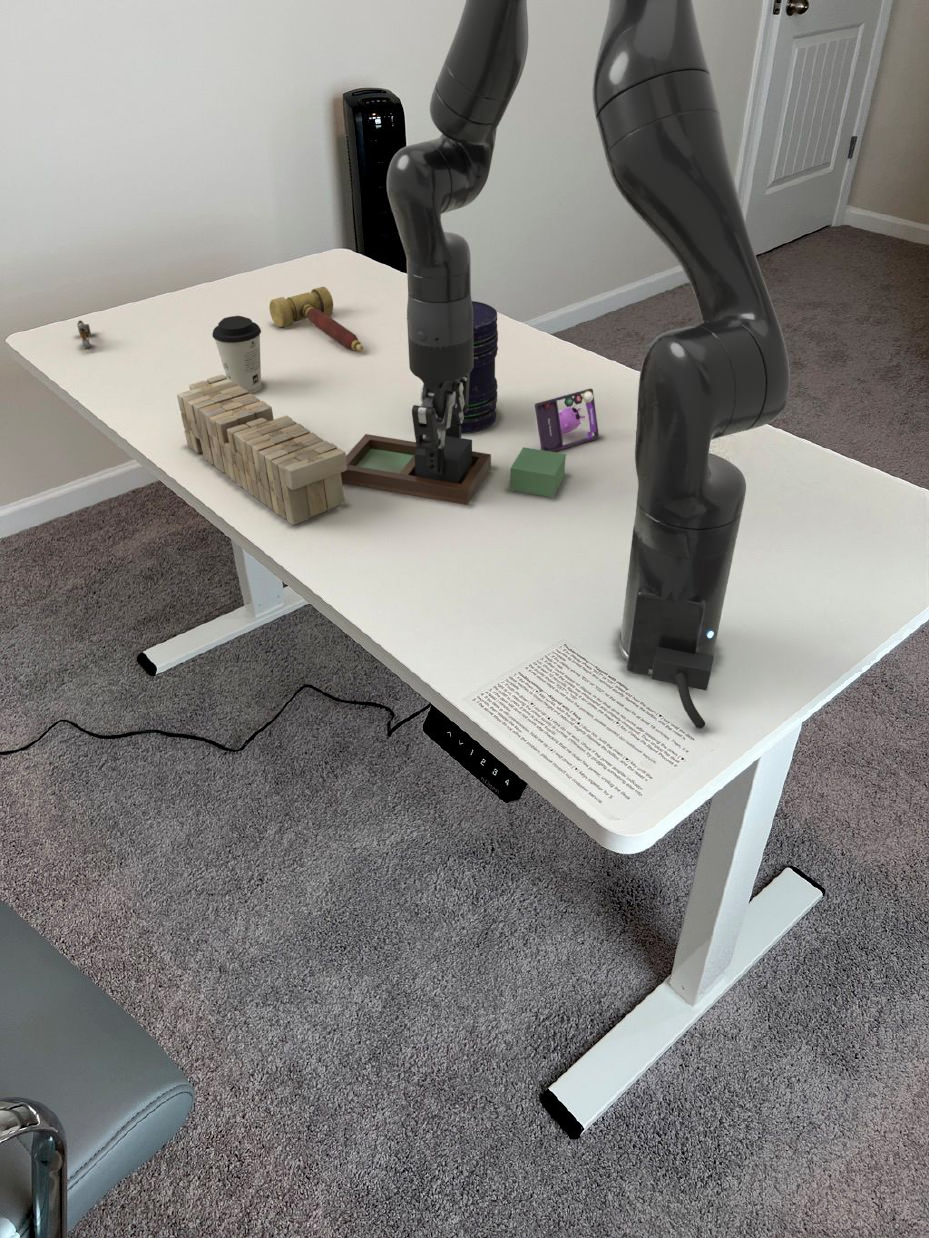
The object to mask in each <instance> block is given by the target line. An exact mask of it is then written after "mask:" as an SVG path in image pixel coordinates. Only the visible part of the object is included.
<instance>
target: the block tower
mask: <svg viewBox="0 0 929 1238" xmlns="http://www.w3.org/2000/svg"><path fill="white" fill-rule="evenodd" d="M188 387H189V390H186V391H184V392H183V391H182V392H179V393H177V394H176V397H177V402H178V407H179V411H180V417H181V420H182V421H181V422H182V425H183V429H184V435H185V440H186V443H187V447H189V448H190V449H191V450H193V451H194V452H195V453H197V454H201V453H202V455H203V458H204V460H206V461H207V462H209V463H210V464H211V465H213V466H214V467H215V468H216V469H217V470H218V471H221V473H223V474H225V476H227V477H228V478H229V479H230V480H231V481H232V482H234V483H236V485H238V486H239V488H240V487H241V488H243V489H244V490H245V491H247V492H248V493H249V494H250V495H251V496H253V497H254V498H255V499H257V500H258V501H260V502H261V503H262V504H263V505H265V506H267V507H268V508H269V509H270V510H271V511H273V512H274V513H276V514H277V515H278V516H281V517H282V518H283V519H285V520H287V521H286V522H288V523H289V524H290V525H292V526H296V525H298V524H300V523H303V522H305V521H307V520H309V519H310V518H311V517H313V516H316V515H319V514H321V513H324V512H326V511H328V509H331V508H334V507H337V506H339V505H342V504H344V503H345V494H344V485H343V483H342V478H341V472H344V471H346V470H347V463H346V455H347V453H346V451H344V450H343V449H341V448H338V446H337V445H335V444H333V443H331V442H329V441H327V440H325V439H323V438H322V437H320V436H318V435H317V434H316V433H314V432H312V431H310V430H309V428H307V427H305V426H304V425H302V424H301V423H298V422H297V421H295V420H294V419H293V418H292V417H290V416H289V415H284V416H281V417H278V418H274V414H273V407H272V406H271V405H269V404H267V402H265V401H263V400H261V399H260V398H259V397H256V395H254V393H251V394H249V391H247V390H246V389H243V388H242V387H241V386H238V385H237V384H236V383H234V382H232V381H231V380H229V379H227V377H226V375H224V374H219V375H215V376H212V377H209V378H207V379H206V380H201V381H198V382H194V383H191V384H189V386H188Z"/></svg>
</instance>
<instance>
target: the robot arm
mask: <svg viewBox="0 0 929 1238" xmlns="http://www.w3.org/2000/svg"><path fill="white" fill-rule="evenodd" d="M528 50H529V17H528V0H465V2H464V6H463V10H462V13H461V16H460V19H459V23H458V25H457V28H456V31H455V33H454V36H453V39H452V42H451V44H450V46H449V49H448V52H447V54H446V56H445V59H444V62H443V64H442V67H441V69H440V72H439V75H438V77H437V80H436V82H435V84H434V88H433V90H432V94H431V97H430V101H429V115H430V118H431V122H432V123H433V125H434V126H435V128H436V129H437V130H438V131H439V132H440V133H441V134H440V136H439V137H437V138H434V139H429V140H426V141H422V142H418V143H414V144H409V145H405V146H404V147H402V148H400V149H399V150H398V151H397V152H396V153H395V154H394V155H393V157H392V158H391V161H390V162H389V166H388V170H387V173H386V174H387V175H386V193H387V198H388V201H389V202H388V203H389V205H390V209H391V212H392V214H393V218H394V221H395V224H396V227H397V230H398V234H399V237H400V241H401V244H402V248H403V250H404V255H405V257H406V279H407V305H406V322H407V323H406V326H407V343H408V346H407V347H408V362H409V363H408V364H409V370H410V372H411V373H412V374H413V376H415V377H417V378H418V379H419V380H421V381H422V383H423V385H422V388H421V391H420V402H421V404H420V405H418V404H413V405H412V408H411V417H412V418H411V419H412V424H413V432H414V439H415V442H416V447H417V448H418V449H424V450H425V455H426V471H427V473H429V474H434V475H442V474H443V473H444V471H445V467H444V442H445V436H451V437H457V438H462V434H461V424H460V423H462V422H463V420H464V415H463V412H465V413H466V412H467V411H468V401H469V382H470V372H471V371H472V369H473V365H474V360H473V306H472V301H473V300H472V283H471V282H472V281H471V280H472V279H471V278H472V277H471V272H472V270H471V269H472V267H471V249H470V245H469V243H468V241H467V240H466V239H465V238H464V237H463V236H462V235H460V234H458V233H455V232H451V231H444V228H443V224H442V215H443V214H446V213H449V212H452V211H456V210H459V209H462V208H464V207H467V206H469V205H470V204H472V203H473V202H474V201H475V200H476V198H478V196H480V194H481V192H482V191H483V189H484V187H485V186H486V184H487V181H488V179H489V178H488V177H489V174H490V171H491V166H492V160H493V154H494V150H495V145H496V139H497V138H496V137H497V131H498V127H499V125H500V123H501V121H502V119H503V117H504V115H505V113H506V111H507V108H508V106H509V104H510V102H511V100H512V98H513V96H514V94H515V92H516V89H517V87H518V85H519V83H520V79H521V78H522V75H523V72H524V68H525V65H526V60H527V56H528ZM713 84H714V83H713V81H712V76H711V72H710V69H709V65H708V62H707V58H706V55H705V51H704V48H703V43H702V40H701V35H700V31H699V26H698V21H697V17H696V13H695V7H694V2H693V0H609V3H608V12H607V16H606V21H605V25H604V29H603V33H602V35H601V39H600V44H599V48H598V52H597V55H596V62H595V65H594V72H593V78H592V94H591V97H592V105H593V106H592V107H593V113H594V116H595V121H596V124H597V129H598V132H599V136H600V141H601V144H602V148H603V152H604V156H605V161H606V165H607V168H608V171H609V174H610V178H611V179H612V181H613V184H614V185H615V187H616V188H617V191H618V192H619V193H620V196H622V198H623V200H624V201H625V202H626V203H627V205H628V206H629V207H630V208H631V209H632V211H633V212H634V213H635V214H636V215H637V217H638V218H639V219H640V220H641V221H642V222H643V224H645V225H646V226H647V227H648V229H649V230H650V231H651V232H652V233H653V234H654V235H655V236H656V237H657V239H659V241H661V242H662V243H663V245H664V246H665V247H666V249H668V251H669V252H670V253H671V254H672V256H673V257H674V258H675V259H676V261H677V263H678V264H679V265H680V267H681V269H682V270H683V272H684V274H685V275H686V278H687V280H688V282H689V285H690V287H691V290H692V293H693V295H694V298H695V301H696V304H697V307H698V310H699V312H700V317H701V322H702V323H697V324H693V325H689V326H683V327H679V328H675V329H671V330H667V331H665V332H663V333H660V334H659V335H658V336H656V337H655V338H654V339H653V340H652V341H651V343H650V344H649V346H648V347H647V350H646V351H645V354H644V356H643V360H642V364H641V367H640V372H639V379H638V391H637V410H636V412H637V413H636V431H635V445H634V463H635V464H634V465H635V470H636V477H637V495H636V497H637V498H636V503H635V505H636V506H635V514H634V521H633V529H632V536H631V537H632V538H631V545H630V553H629V561H628V570H627V579H626V587H625V594H624V595H625V596H624V602H623V603H624V604H623V612H622V621H621V630H620V632H619V638H618V648H619V652H620V654H621V656H622V658H623V659H624V661H626V670H627V671H628V672H631V673H637V674H641V675H646V676H651V680H654V681H659V682H662V683H668V684H671V685H672V684H673V685H677V690H678V695H679V699H680V701H681V704H682V707H683V709H684V711H685V713H686V715H687V717H688V718H689V720H690V721H691V723H692V724H693V725H694V726H695V728H697V729H703V728H705V726H706V721H705V720H704V719H703V717H702V715H701V714H700V713H699V711H698V709H697V708H696V705H695V704H694V701H693V699H692V696H691V692H690V688H691V689H695V690H701V691H705V692H707V691H708V687H709V684H710V678H711V674H712V669H713V664H714V659H715V653H716V643H717V638H718V635H719V634H718V633H719V629H720V623H721V618H722V612H723V607H724V603H725V597H726V594H727V588H728V583H729V579H730V574H731V568H732V563H733V558H734V555H735V554H734V553H735V549H736V543H737V539H738V538H737V537H738V534H739V529H740V524H741V519H742V515H743V510H744V503H745V499H746V493H747V481H746V479H745V476H744V474H743V472H742V471H741V470H740V469H739V467H738V466H736V465H735V464H733V462H730V461H728V460H727V459H725V458H723V457H722V456H719V455H716V454H714V453H710V447H711V441H712V440H715V439H719V438H722V437H727V436H730V435H735V434H737V433H741V432H746V431H749V430H753V429H757V428H760V427H763V426H765V425H769V424H771V423H773V422H774V421H775V420H776V419H777V418H778V417H779V416H780V415H781V414H782V413H783V411H784V409H785V407H786V405H787V403H788V399H789V395H790V391H791V368H790V361H789V355H788V349H787V346H786V341H785V338H784V335H783V332H782V329H781V325H780V323H779V322H780V321H779V319H778V315H777V314H776V311H775V308H774V305H773V302H772V299H771V296H770V293H769V290H768V288H767V284H766V282H765V278H764V276H763V273H762V271H761V267H760V264H759V262H758V259H757V256H756V253H755V250H754V246H753V244H752V241H751V237H750V234H749V231H748V227H747V224H746V220H745V216H744V213H743V209H742V205H741V201H740V198H739V197H740V196H739V194H738V193H739V192H738V189H737V185H736V182H735V178H734V174H733V171H732V167H731V166H732V165H731V162H730V158H729V153H728V151H727V145H726V141H725V134H724V130H723V125H722V119H721V115H720V109H719V106H718V102H717V101H718V100H717V97H716V93H715V88H714V85H713ZM436 418H442V419H443V422H437V421H436Z"/></svg>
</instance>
